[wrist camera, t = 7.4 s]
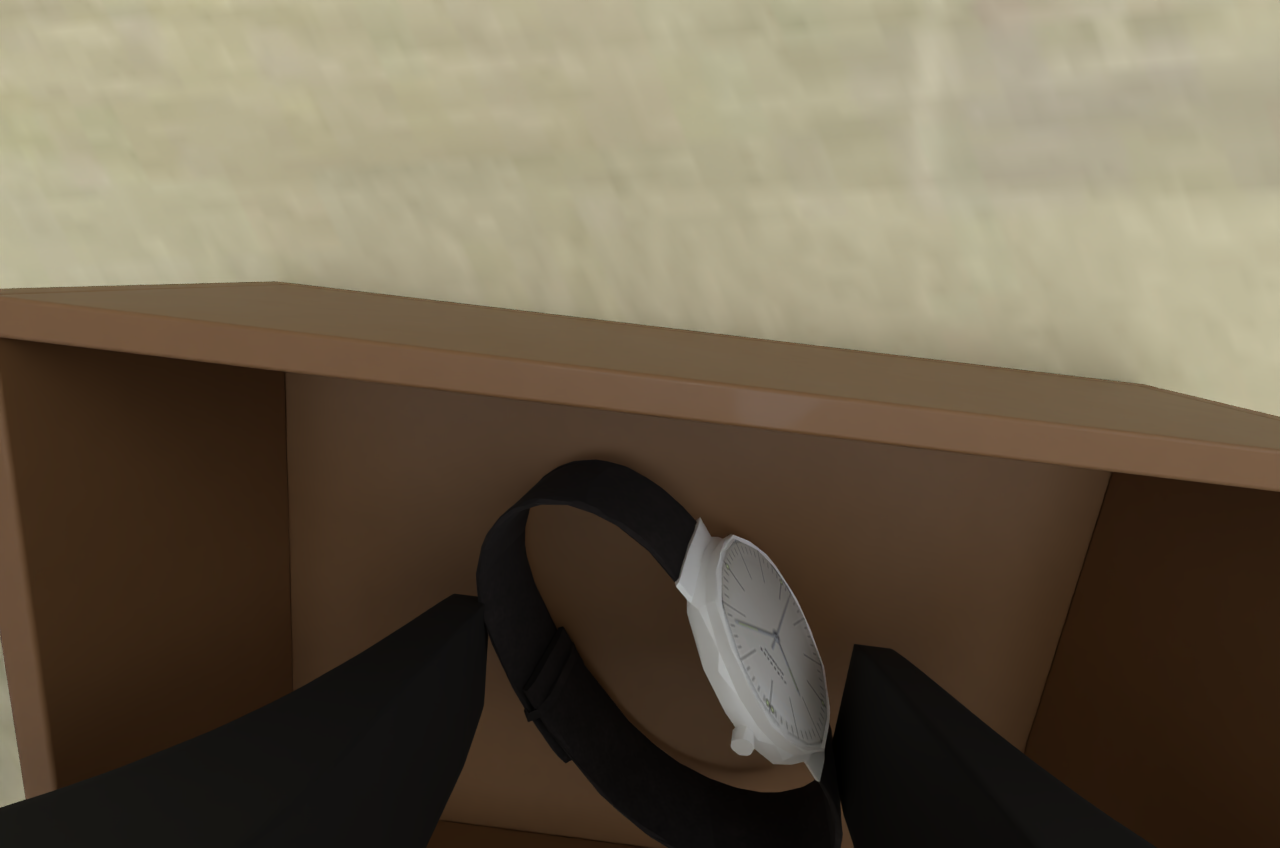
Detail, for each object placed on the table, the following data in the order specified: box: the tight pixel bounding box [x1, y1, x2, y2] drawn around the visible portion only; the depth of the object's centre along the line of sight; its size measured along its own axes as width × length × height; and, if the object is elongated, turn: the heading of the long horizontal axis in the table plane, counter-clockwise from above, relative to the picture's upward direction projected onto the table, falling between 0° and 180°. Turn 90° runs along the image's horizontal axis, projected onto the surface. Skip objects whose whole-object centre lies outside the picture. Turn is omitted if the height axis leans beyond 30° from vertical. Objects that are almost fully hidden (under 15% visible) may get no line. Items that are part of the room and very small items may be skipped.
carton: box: [0, 282, 1280, 848], centre depth 9 cm, size 11×15×5 cm
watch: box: [476, 459, 843, 848], centre depth 10 cm, size 8×5×4 cm, turn 34°
